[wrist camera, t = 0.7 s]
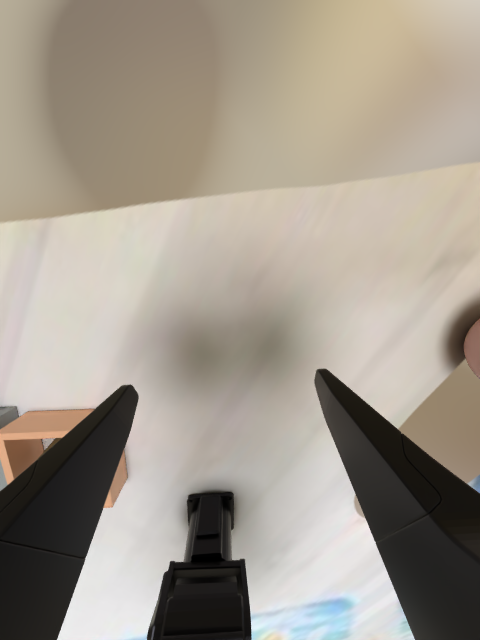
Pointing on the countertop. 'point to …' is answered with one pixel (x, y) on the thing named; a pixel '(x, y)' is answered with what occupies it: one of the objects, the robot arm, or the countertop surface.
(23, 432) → the holder
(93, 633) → the countertop surface
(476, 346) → the mortar and pestle
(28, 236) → the countertop surface
